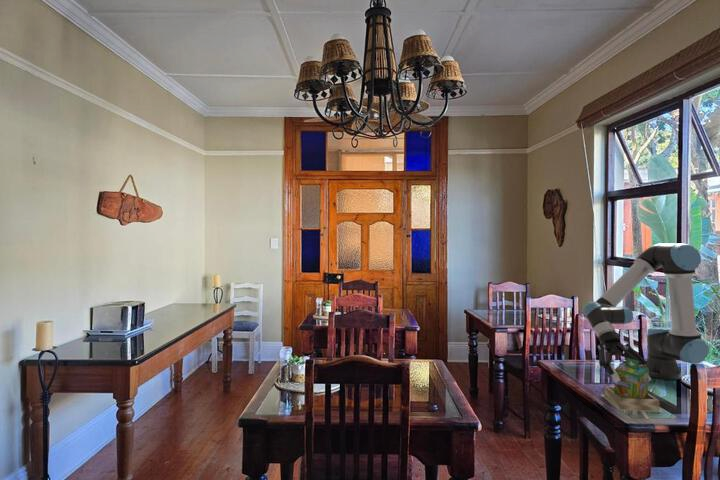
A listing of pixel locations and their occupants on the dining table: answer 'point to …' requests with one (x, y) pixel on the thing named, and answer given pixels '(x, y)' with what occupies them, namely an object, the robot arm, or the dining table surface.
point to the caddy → (631, 401)
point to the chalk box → (632, 380)
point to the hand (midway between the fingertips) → (633, 381)
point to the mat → (628, 409)
